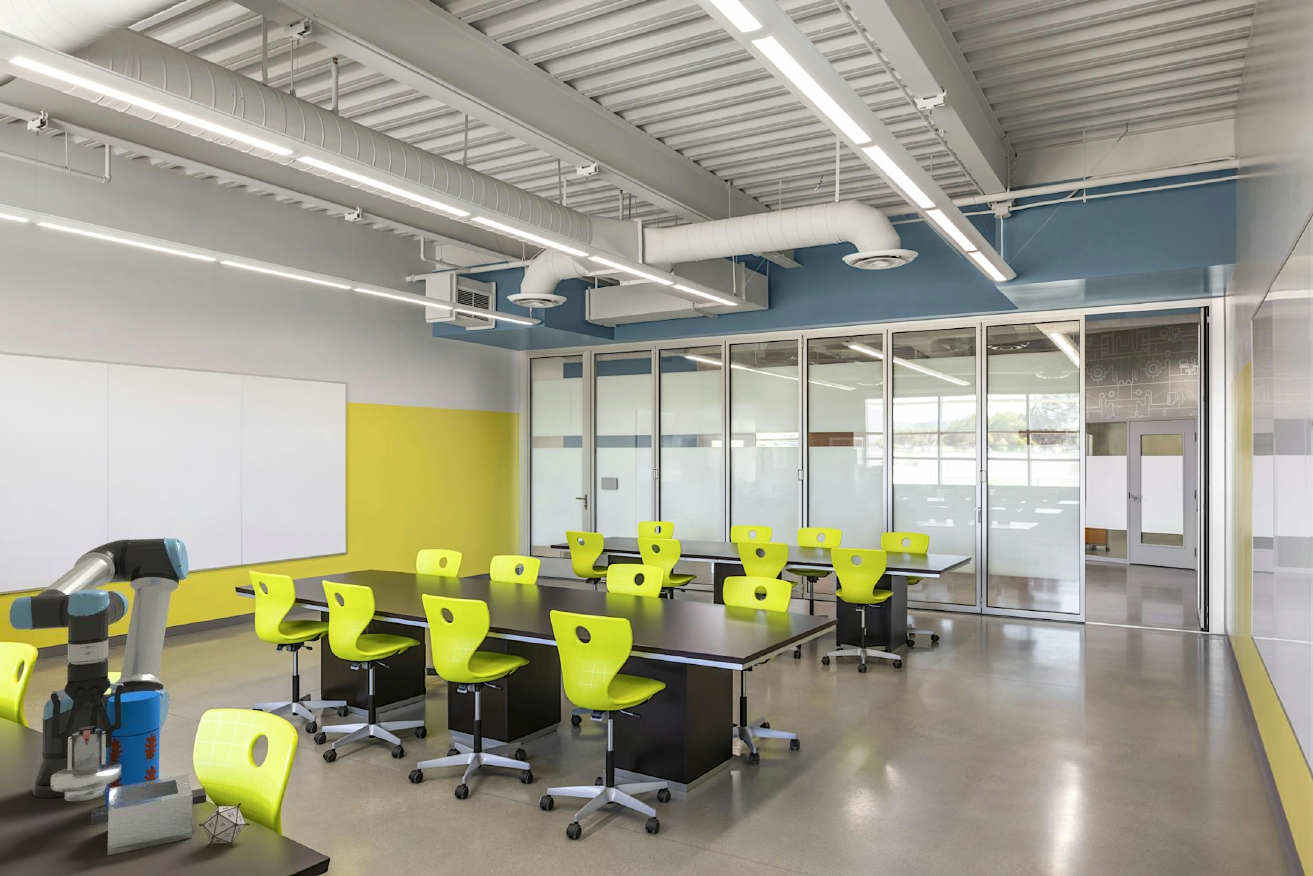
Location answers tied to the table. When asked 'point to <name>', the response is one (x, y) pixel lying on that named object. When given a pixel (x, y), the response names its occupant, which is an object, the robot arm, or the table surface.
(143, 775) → the thermos
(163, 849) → the table surface
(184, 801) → the base
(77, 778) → the lid
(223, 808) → the game die
